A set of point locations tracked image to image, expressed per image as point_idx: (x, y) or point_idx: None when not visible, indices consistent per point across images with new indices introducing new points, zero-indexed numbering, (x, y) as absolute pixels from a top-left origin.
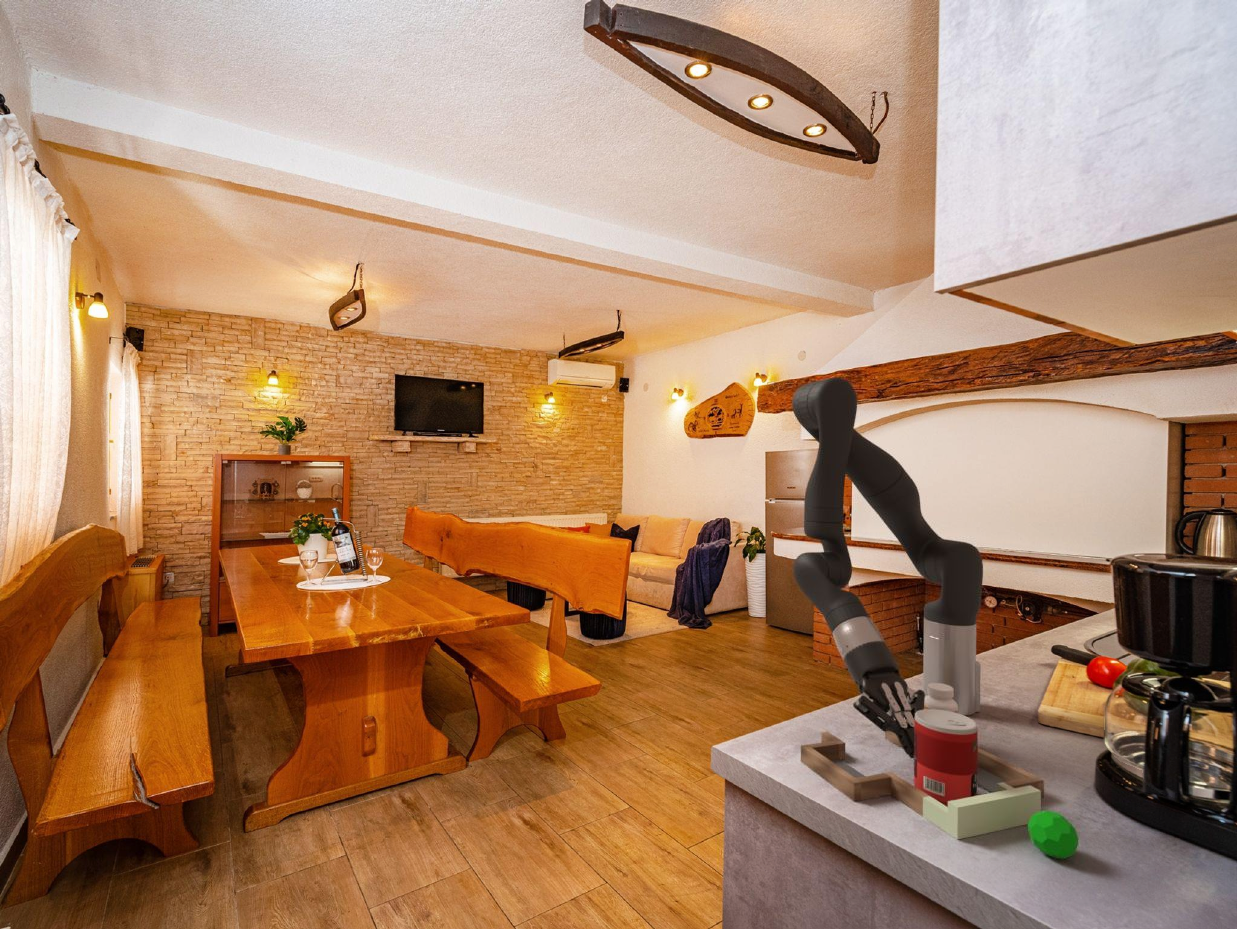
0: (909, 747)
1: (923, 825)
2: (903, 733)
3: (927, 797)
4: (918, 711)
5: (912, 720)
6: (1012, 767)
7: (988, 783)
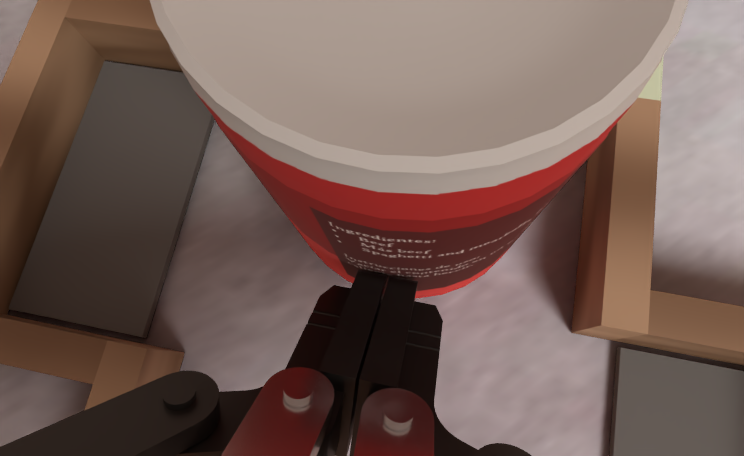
0: (440, 326)
1: (674, 102)
2: (424, 390)
3: (642, 91)
4: (495, 144)
5: (277, 405)
6: (22, 91)
7: (154, 159)
